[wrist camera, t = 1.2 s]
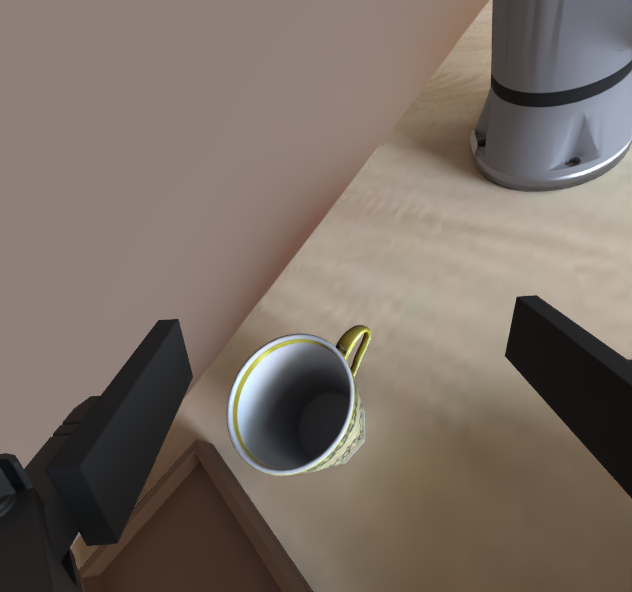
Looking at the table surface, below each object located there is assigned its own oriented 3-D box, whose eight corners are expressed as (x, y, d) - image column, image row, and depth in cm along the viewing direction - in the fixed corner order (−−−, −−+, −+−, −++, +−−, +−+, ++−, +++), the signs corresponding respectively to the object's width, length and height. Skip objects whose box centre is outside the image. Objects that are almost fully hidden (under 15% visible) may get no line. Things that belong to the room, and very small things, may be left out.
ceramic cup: (330, 516, 29) (276, 513, 22) (265, 429, 35) (204, 402, 28) (431, 398, 31) (415, 355, 23) (352, 335, 37) (319, 284, 29)
